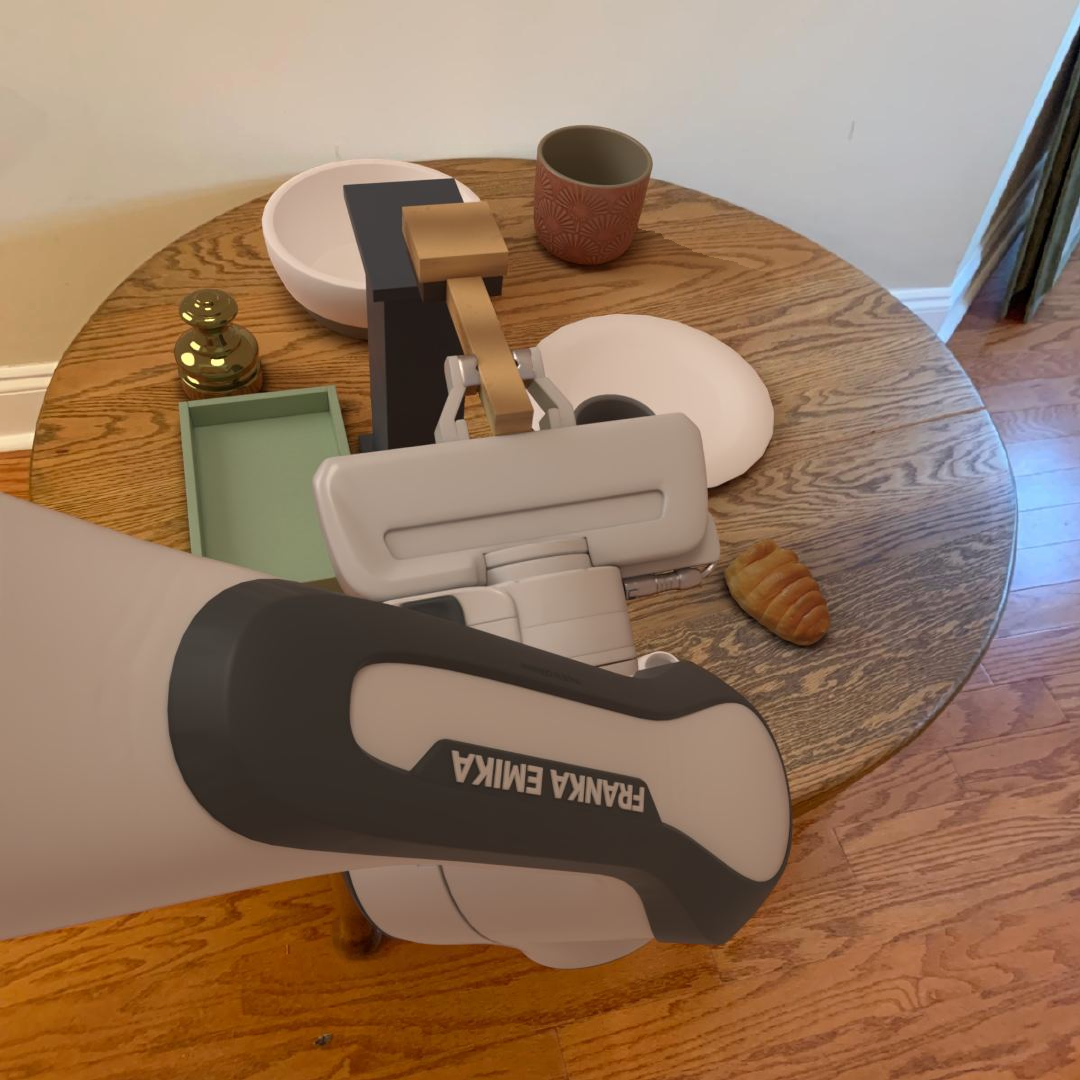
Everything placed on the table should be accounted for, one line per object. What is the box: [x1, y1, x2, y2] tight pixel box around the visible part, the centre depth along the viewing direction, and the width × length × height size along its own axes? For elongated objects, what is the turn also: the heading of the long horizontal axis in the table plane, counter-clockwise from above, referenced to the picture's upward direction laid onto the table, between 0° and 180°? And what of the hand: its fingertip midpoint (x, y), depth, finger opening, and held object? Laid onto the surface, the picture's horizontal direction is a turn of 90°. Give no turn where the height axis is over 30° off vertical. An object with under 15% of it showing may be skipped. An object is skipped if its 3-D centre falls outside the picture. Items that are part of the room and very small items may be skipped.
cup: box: [574, 394, 656, 425], centre depth 78 cm, size 7×7×15 cm
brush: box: [402, 200, 534, 436], centre depth 52 cm, size 16×5×3 cm, turn 16°
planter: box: [533, 124, 654, 266], centre depth 107 cm, size 12×12×11 cm
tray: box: [178, 384, 352, 594], centre depth 82 cm, size 14×22×3 cm, turn 16°
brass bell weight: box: [173, 288, 264, 401], centre depth 88 cm, size 7×7×10 cm
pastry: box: [724, 538, 832, 646], centre depth 80 cm, size 9×7×4 cm
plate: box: [526, 313, 775, 490], centre depth 95 cm, size 25×25×2 cm
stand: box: [343, 177, 466, 454], centre depth 76 cm, size 8×12×26 cm, turn 16°
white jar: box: [637, 650, 680, 670], centre depth 74 cm, size 5×3×5 cm
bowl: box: [261, 158, 482, 341], centre depth 100 cm, size 22×22×8 cm
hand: (490, 354), depth 51 cm, fingers closed on brush, 2 cm apart
